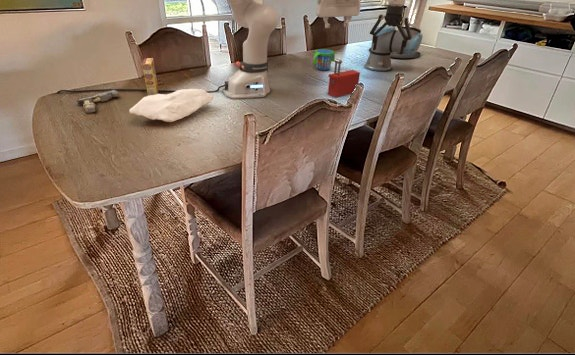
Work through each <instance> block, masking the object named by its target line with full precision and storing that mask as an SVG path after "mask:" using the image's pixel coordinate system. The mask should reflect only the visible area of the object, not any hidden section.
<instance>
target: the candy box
mask: <svg viewBox="0 0 575 355" xmlns="http://www.w3.org/2000/svg"><path fill="white" fill-rule="evenodd" d="M141 66H142V73H143V78H144V82H145V87H146V89H147V91H146V92H147V96H150V95H156V94H159V90H160V89H159V84H158V79H157V73H156V66H155V62H154V58H153V57H151V58H150V57H149V58H146V57H145V58H143V60H142V63H141Z"/></svg>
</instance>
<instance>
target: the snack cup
mask: <svg viewBox="0 0 575 355" xmlns="http://www.w3.org/2000/svg"><path fill="white" fill-rule="evenodd" d="M335 56H336V54H335V51H334V50H332V49H327V48H318V49H316V50H315V52H314V55H313V58H312V64H313V65H314V66H316V69H317V70H320V71H328V70H330V68H331V65H332V62H334V60H335V59H336V57H335ZM334 63H335V62H334Z"/></svg>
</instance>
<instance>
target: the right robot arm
mask: <svg viewBox="0 0 575 355" xmlns="http://www.w3.org/2000/svg"><path fill="white" fill-rule="evenodd" d="M427 2H428V0H410V2H409V5H408V8H407V12H406V16H405V17H403V13H404V8H405V7H404V5H405V4H406V0H388V1H387V6H386V12H385V14H382V13H381V14H379V15H378V17H377V20H376V22H375V23H374V25H373V26H372V28H371V30H370V31H369V35H371V36H372V38H371V46H370V48H371V52H370V51H369V52H370V53H369V56H368V57H367V60H366V61H365V65H364V66H365V68H366V69H367V70H370V71H374V72H389V71H391V70H392V59H391V58H392V57H390V54H391V52H396V53H400V55H402V54H406V55H407V54H408V55H413V54H415V53H416V52H418V50H419V48H420V46H421V44H422V41H423V34H422V29H421V27H420V26H421V23H422V20H423V17H424V13H425V9H426V7H427ZM383 20H384V23H383V24H382V25H381V26H379V25H380V24H381V22H382V21H383ZM401 22H403V24H402V23H401ZM396 28H397V29H398V30H397V29H396Z"/></svg>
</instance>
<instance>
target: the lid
mask: <svg viewBox="0 0 575 355" xmlns="http://www.w3.org/2000/svg"><path fill="white" fill-rule="evenodd" d="M342 63H343V60H341V59H339V58H335V60H334V71H333V73H328V78H329V77H331V78H333V79H335V80H336V79H341V78H346V77H351V76H356V75H360V76H361V72H359V71H357V70H355V69H350V70H345V71H341V64H342Z"/></svg>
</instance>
